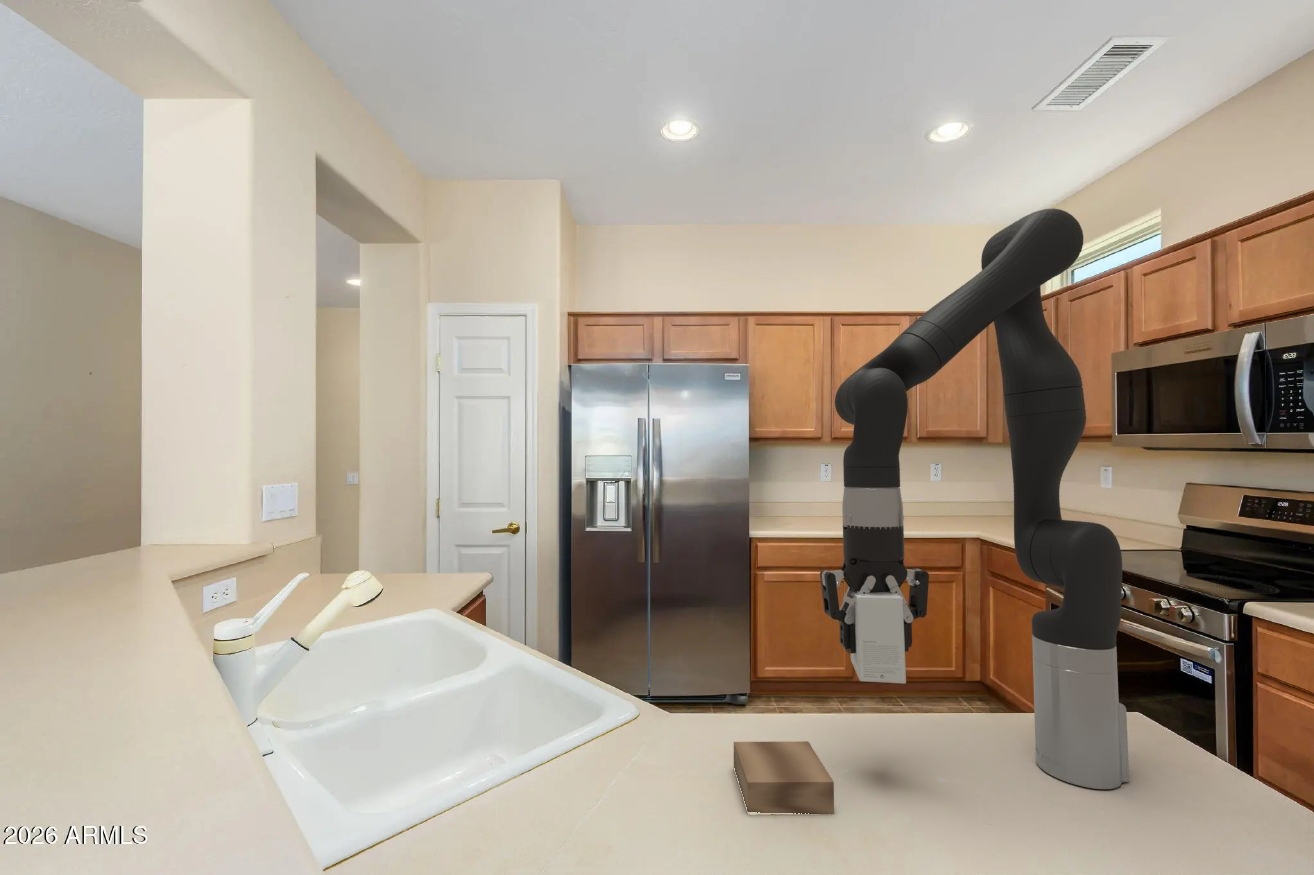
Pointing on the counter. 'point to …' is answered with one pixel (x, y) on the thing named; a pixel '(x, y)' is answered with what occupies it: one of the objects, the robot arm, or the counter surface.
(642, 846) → the counter surface
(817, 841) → the counter surface
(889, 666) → the small box
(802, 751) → the walnut block
